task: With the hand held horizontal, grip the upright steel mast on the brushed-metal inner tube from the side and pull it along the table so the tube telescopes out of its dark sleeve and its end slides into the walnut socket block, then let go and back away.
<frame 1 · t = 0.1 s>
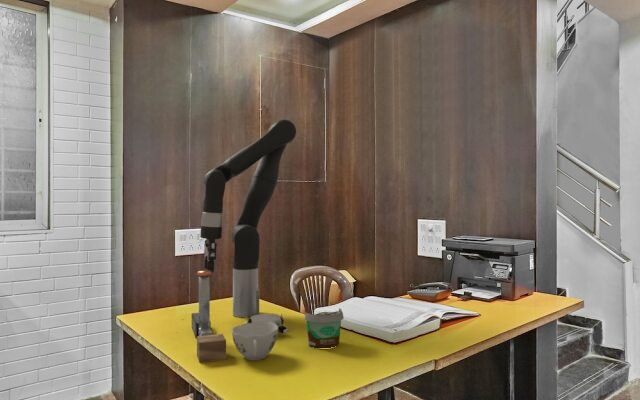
hand: (208, 270, 165), 17 cm above the table, tool pointing down, fingers open, 8 cm apart
teacup: (255, 359, 124), on the table
food container: (327, 347, 134), on the table
sleeve: (200, 331, 149), on the table
robot toy: (267, 333, 148), on the table
tube: (202, 300, 144), point 11 cm above the table, slide at 0.0 cm
socket: (211, 357, 125), on the table
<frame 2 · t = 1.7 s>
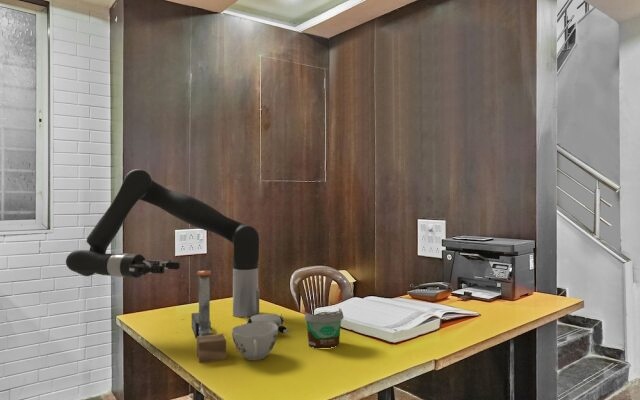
hand: (171, 267, 142), 22 cm above the table, tool horizontal, fingers open, 8 cm apart
nothing on the table moved.
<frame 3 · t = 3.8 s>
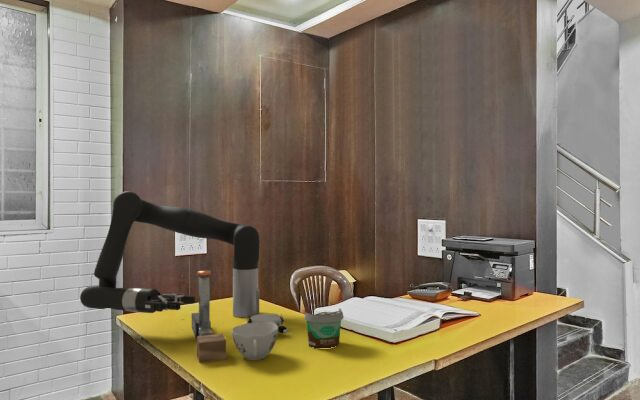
hand: (187, 303, 141), 11 cm above the table, tool horizontal, fingers open, 8 cm apart
nothing on the table moved.
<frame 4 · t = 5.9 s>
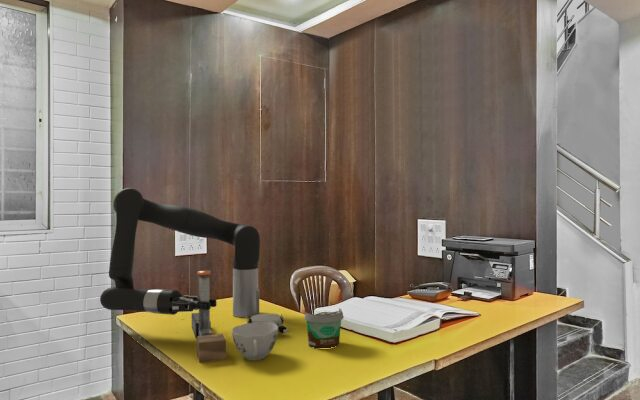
hand: (212, 304, 139), 11 cm above the table, tool horizontal, fingers closed on tube, 3 cm apart
tube: (202, 301, 144), point 11 cm above the table, slide at 0.0 cm, touching gripper
everything else where it was.
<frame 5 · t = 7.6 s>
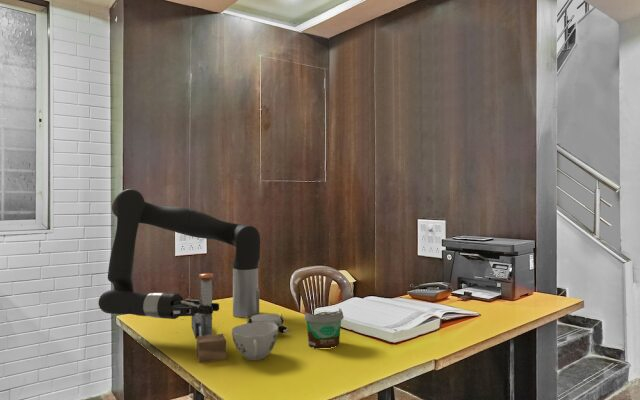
hand: (215, 308, 134), 11 cm above the table, tool horizontal, fingers closed on tube, 3 cm apart
tube: (204, 304, 139), point 11 cm above the table, slide at 5.5 cm, touching gripper
everything else where it was.
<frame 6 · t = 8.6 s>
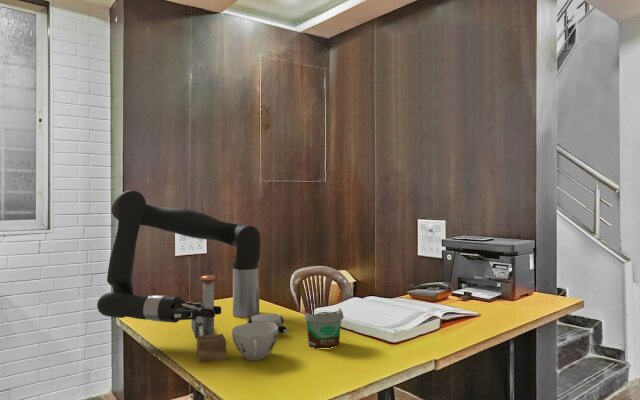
hand: (217, 312, 130), 11 cm above the table, tool horizontal, fingers closed on tube, 3 cm apart
tube: (206, 307, 135), point 11 cm above the table, slide at 9.6 cm, touching gripper
everything else where it was.
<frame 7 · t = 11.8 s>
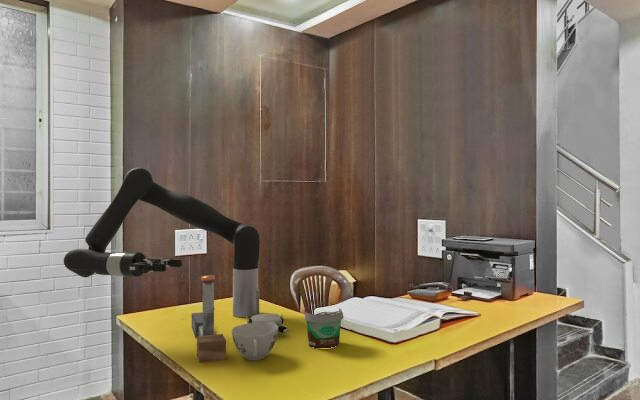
hand: (173, 265, 137), 23 cm above the table, tool horizontal, fingers open, 8 cm apart
tube: (206, 307, 135), point 11 cm above the table, slide at 9.7 cm
everything else where it was.
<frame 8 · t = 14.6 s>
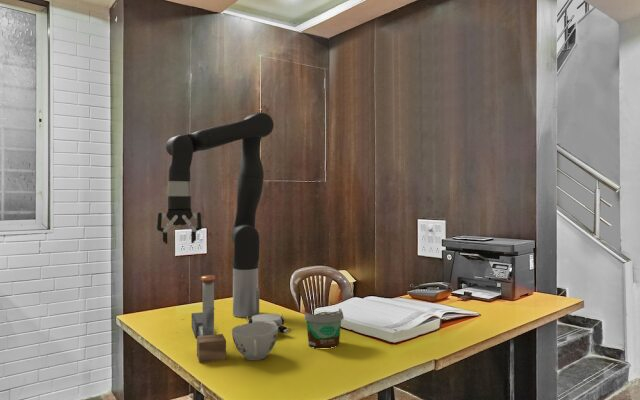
hand: (179, 243, 154), 28 cm above the table, tool pointing down, fingers open, 8 cm apart
nothing on the table moved.
at the end: tube slide at 9.7 cm; the gripper is holding nothing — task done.
